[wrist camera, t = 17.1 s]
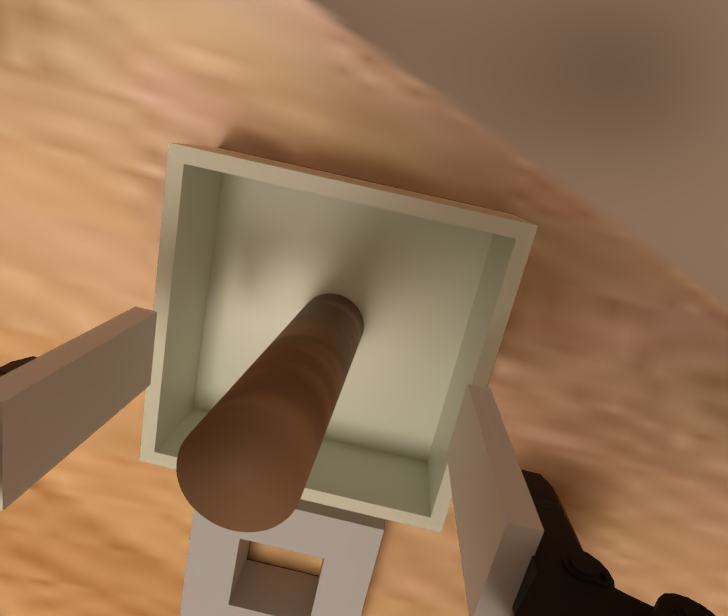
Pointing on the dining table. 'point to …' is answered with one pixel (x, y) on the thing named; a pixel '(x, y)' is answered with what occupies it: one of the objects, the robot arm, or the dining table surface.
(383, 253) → the tray
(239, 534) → the socket block
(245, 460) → the dowel
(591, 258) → the dining table surface
